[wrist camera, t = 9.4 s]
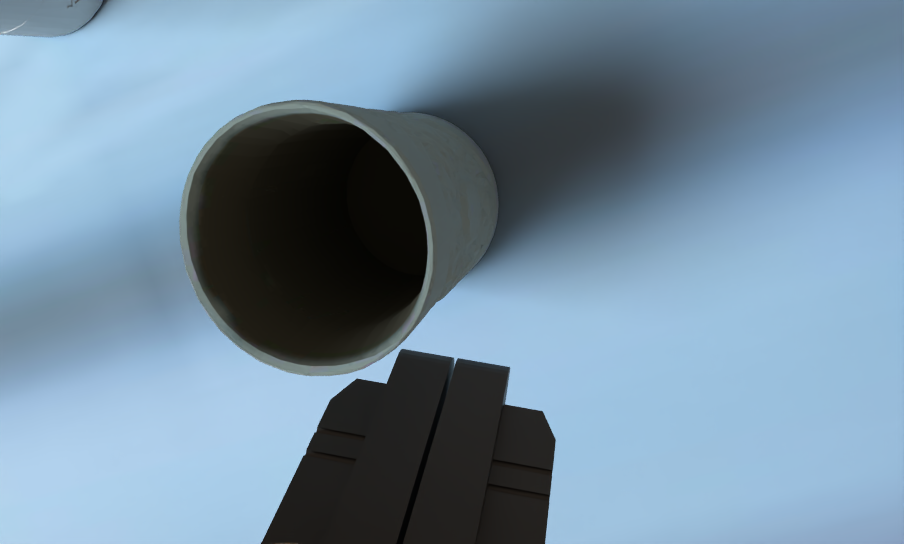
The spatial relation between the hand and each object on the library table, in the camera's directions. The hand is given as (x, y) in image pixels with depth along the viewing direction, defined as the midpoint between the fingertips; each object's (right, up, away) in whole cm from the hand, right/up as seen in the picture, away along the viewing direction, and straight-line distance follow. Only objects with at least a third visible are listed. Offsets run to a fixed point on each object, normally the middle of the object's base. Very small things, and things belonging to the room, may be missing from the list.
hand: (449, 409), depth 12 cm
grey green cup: (-1, +6, +30) cm, 30 cm away
